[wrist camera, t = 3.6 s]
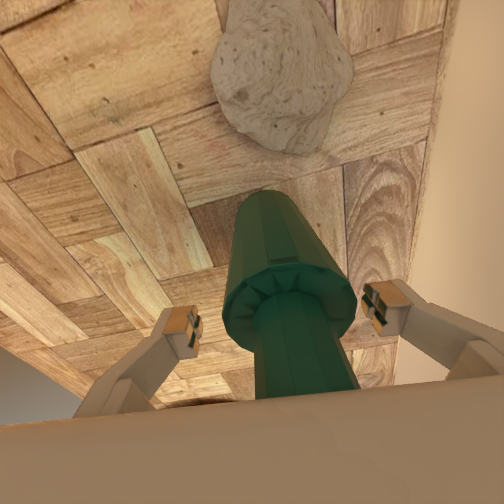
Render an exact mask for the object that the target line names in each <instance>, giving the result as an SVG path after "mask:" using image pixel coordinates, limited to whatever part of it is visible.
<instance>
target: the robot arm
mask: <svg viewBox="0 0 504 504" xmlns="http://www.w3.org/2000/svg"><path fill="white" fill-rule="evenodd" d="M363 291H364V292H365V294H364V295H363V296H362V298H361V305H362V309H363V312H364V313H365V315H366V317H368V318H370V319H371V320H373V321H372V325H373V327H374V328H375V330H376V331H377V333H378V334H379V336H380V337H385V336H397V335H400V336H401V337H402V338H404V339H405V340H407V341H408V342H410V343H411V344H412V345H414V346H415V347H417V348H418V349H420V350H421V351H423V352H424V353H426V354H427V355H429V356H430V357H432V358H433V359H434V360H436V361H437V362H439V363H440V364H442V365H443V366H445V367H446V368H448V369H449V370H450V371H449V373H448V375H447V376H446V378H445V380H443V381H433V382H424V383H414V384H404V385H394V386H384V387H374V388H365V389H355V390H345V391H335V392H325V393H316V394H306V395H296V396H286V397H277V398H267V399H257V400H248V401H238V402H228V403H218V404H209V405H199V406H189V407H179V408H170V409H160V410H156V408H155V407H154V406H153V405H152V403H151V402H150V401H149V400H150V399H151V398H152V396H153V395H154V394H155V392H156V391H157V390H158V388H159V387H160V386H161V384H162V383H163V382H164V381H165V379H166V378H167V377H168V375H169V374H170V373H171V371H172V370H173V369H174V367H175V366H176V365H177V363H178V362H179V360H184V359H191V358H197V355H198V351H199V346H200V344H199V341H198V340H199V339H200V338H201V336H202V332H203V323H202V319H201V317H200V316H199V315H197V313H198V309H197V306H196V305H189V306H179V307H172V308H165V309H163V310H162V312H161V314H160V317H159V319H158V321H157V323H156V325H155V327H154V329H153V331H152V333H151V335H150V336H149V337H146V338H145V339H144V340H142V341H141V342H140V343H139V344H138V345H137V346H135V347H134V348H133V349H132V350H131V351H130V352H128V353H127V354H126V355H125V356H124V357H123V358H121V359H120V360H119V361H118V362H117V363H116V364H114V365H113V366H112V367H111V368H110V369H109V370H107V371H106V372H105V373H104V374H103V375H102V376H100V377H99V378H98V379H97V380H96V381H95V382H94V384H93V385H92V387H91V388H90V390H89V392H88V393H87V395H86V397H85V398H84V400H83V401H82V403H81V405H80V406H79V408H78V409H77V411H76V413H75V414H74V416H73V418H71V419H61V420H51V421H42V422H32V423H22V424H13V425H2V426H0V504H504V332H501V331H499V330H496V329H494V328H492V327H489V326H487V325H484V324H482V323H479V322H477V321H475V320H472V319H470V318H467V317H464V316H462V315H460V314H457V313H455V312H452V311H450V310H448V309H445V308H443V307H440V306H438V305H435V304H433V303H427V302H426V301H425V300H424V299H422V298H421V297H420V296H419V295H418V294H417V293H416V292H414V290H412V289H411V288H410V287H409V286H408V285H407V284H406V283H405V282H404V281H403V280H401V279H394V280H387V281H380V282H373V283H365V285H364V287H363Z"/></svg>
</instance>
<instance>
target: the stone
mask: <svg viewBox="0 0 504 504" xmlns="http://www.w3.org/2000/svg"><path fill="white" fill-rule="evenodd" d="M353 73H354V66H353V61H352V57H351V56H350V55H349V54H348V53H347V51H346V49H345V48H344V46H343V44H342V43H341V41H340V39H339V38H338V36H337V34H336V32H335V30H334V28H333V27H332V26H331V24H330V22H329V19H328V17H327V15H326V14H325V12H324V10H323V9H322V8H321V6H320V4H319V2H318V1H317V0H230V1H229V7H228V16H227V21H226V31H225V33H223V34H222V35H221V37H220V39H219V42H218V44H217V47H216V49H215V52H214V55H213V58H212V62H211V67H210V80H211V82H212V85H213V89H214V92H215V95H216V97H217V99H218V102H219V104H220V107H221V110H222V112H223V114H224V115H225V117H226V118H227V120H228V121H229V123H230V125H231V126H234V127H236V129H237V132H238V133H242V134H246V135H247V136H248V137H250V138H251V139H253V140H254V141H255V142H257V143H259V144H260V145H261V146H262V147H264V148H266V149H269V150H272V151H276V152H282V153H289V154H297V155H300V156H302V157H307V156H310V155H312V154H313V153H314V152H317V151H319V150H320V146H321V143H322V141H323V139H324V138H325V136H326V133H327V129H328V125H329V121H330V118H331V114H332V111H333V109H334V108H335V106H336V105H337V104H338V102H339V101H340V100H341V99H342V98H343V97H344V95H345V94H346V92H347V90H348V88H349V87H350V85H351V82H352V79H353Z"/></svg>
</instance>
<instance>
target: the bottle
mask: <svg viewBox="0 0 504 504" xmlns="http://www.w3.org/2000/svg"><path fill="white" fill-rule="evenodd" d="M356 308H357V298H356V296H355V293H354V291H353V289H352V287H351V284H350V282H349V281H348V279H347V278H346V276H345V275H344V274H343V272H342V271H341V269H340V268H339V266H338V265H337V263H336V262H335V261H334V259H333V258H332V256H331V255H330V253H329V252H328V250H327V249H326V248H325V246H324V245H323V243H322V242H321V240H320V239H319V238H318V236H317V235H316V233H315V232H314V230H313V229H312V227H311V226H310V225H309V223H308V222H307V220H306V219H305V217H304V216H303V214H302V213H301V212H300V210H299V209H298V207H297V206H296V204H295V203H294V202H293V201H292V200H291V199H290V198H289V197H288V196H286V195H285V194H283V193H281V192H278V191H274V190H264V191H259V192H256V193H254V194H252V195H251V196H249V197H248V198H247V199H246V200H245V201H244V202H243V203H242V205H241V206H240V208H239V210H238V213H237V218H236V223H235V229H234V236H233V243H232V250H231V256H230V263H229V270H228V277H227V284H226V290H225V297H224V304H223V311H222V319H223V322H224V325H225V328H226V332H227V334H228V335H229V336H230V337H231V338H232V339H233V340H234V341H235V342H236V343H237V344H238V345H239V346H240V347H241V348H244V349H246V350H248V351H250V352H253V353H254V367H255V400H257V399H267V398H277V397H286V396H296V395H306V394H316V393H325V392H335V391H345V390H355V389H361V387H360V385H359V383H358V381H357V378H356V376H355V374H354V372H353V370H352V367H351V365H350V363H349V361H348V358H347V356H346V354H345V352H344V349H343V347H342V345H341V343H340V340H339V338H341V337H342V336H343V335H344V334H345V332H346V331H347V330H348V328H349V327H350V325H351V324H352V323H353V321H354V319H355V314H356Z"/></svg>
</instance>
